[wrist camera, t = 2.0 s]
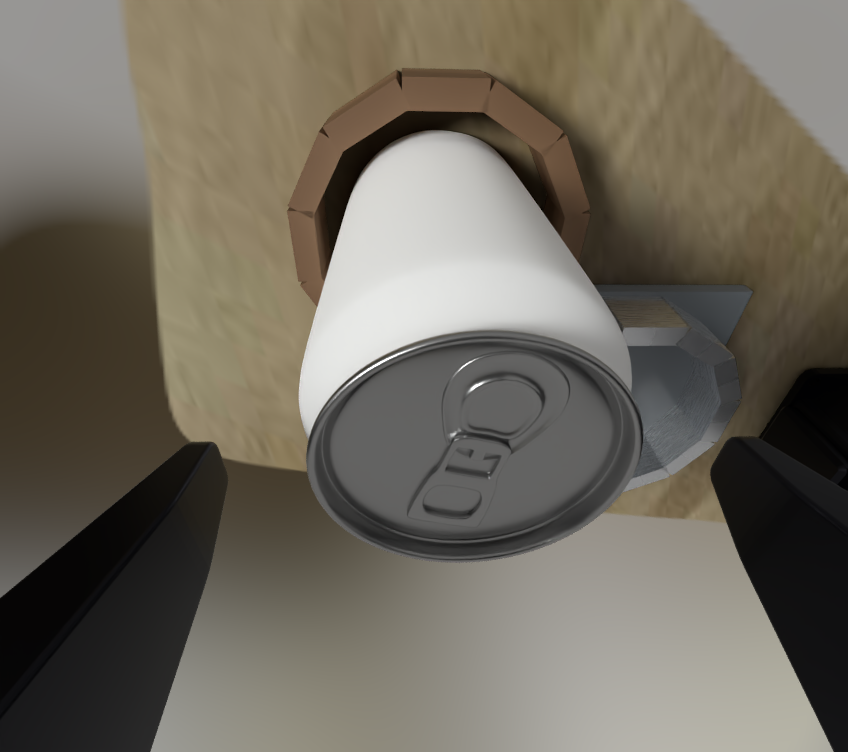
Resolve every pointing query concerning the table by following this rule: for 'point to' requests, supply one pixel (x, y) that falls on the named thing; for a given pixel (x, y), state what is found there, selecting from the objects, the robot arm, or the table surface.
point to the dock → (678, 367)
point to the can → (461, 365)
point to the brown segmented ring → (431, 94)
